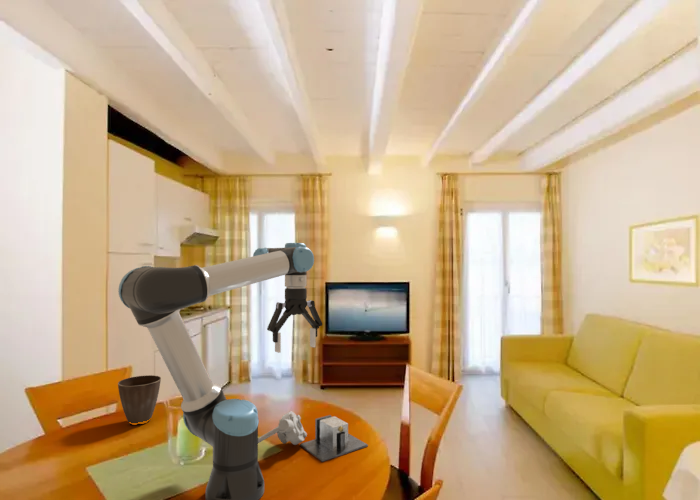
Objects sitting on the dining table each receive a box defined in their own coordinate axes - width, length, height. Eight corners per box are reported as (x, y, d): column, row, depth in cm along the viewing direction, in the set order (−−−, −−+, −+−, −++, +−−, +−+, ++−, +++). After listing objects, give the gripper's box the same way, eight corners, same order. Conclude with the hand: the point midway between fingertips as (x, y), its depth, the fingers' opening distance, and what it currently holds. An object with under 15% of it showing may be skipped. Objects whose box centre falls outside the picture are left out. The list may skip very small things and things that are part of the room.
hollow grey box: (333, 451, 133) (333, 428, 134) (319, 442, 140) (319, 420, 140) (349, 446, 137) (348, 423, 137) (334, 437, 144) (334, 416, 144)
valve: (310, 439, 142) (293, 437, 129) (266, 465, 142) (244, 465, 129) (300, 411, 147) (282, 406, 134) (256, 436, 147) (235, 433, 135)
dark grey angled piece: (322, 461, 128) (322, 437, 128) (299, 445, 139) (300, 422, 139) (367, 446, 139) (367, 423, 139) (343, 432, 150) (343, 411, 150)
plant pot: (107, 427, 155) (108, 384, 156) (138, 413, 169) (139, 373, 170) (140, 431, 151) (140, 387, 151) (168, 417, 165) (169, 376, 165)
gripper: (266, 289, 133) (266, 356, 132) (331, 286, 147) (331, 346, 147) (257, 288, 139) (257, 352, 138) (320, 285, 153) (320, 343, 153)
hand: (295, 349), depth 142 cm, fingers open, 13 cm apart
